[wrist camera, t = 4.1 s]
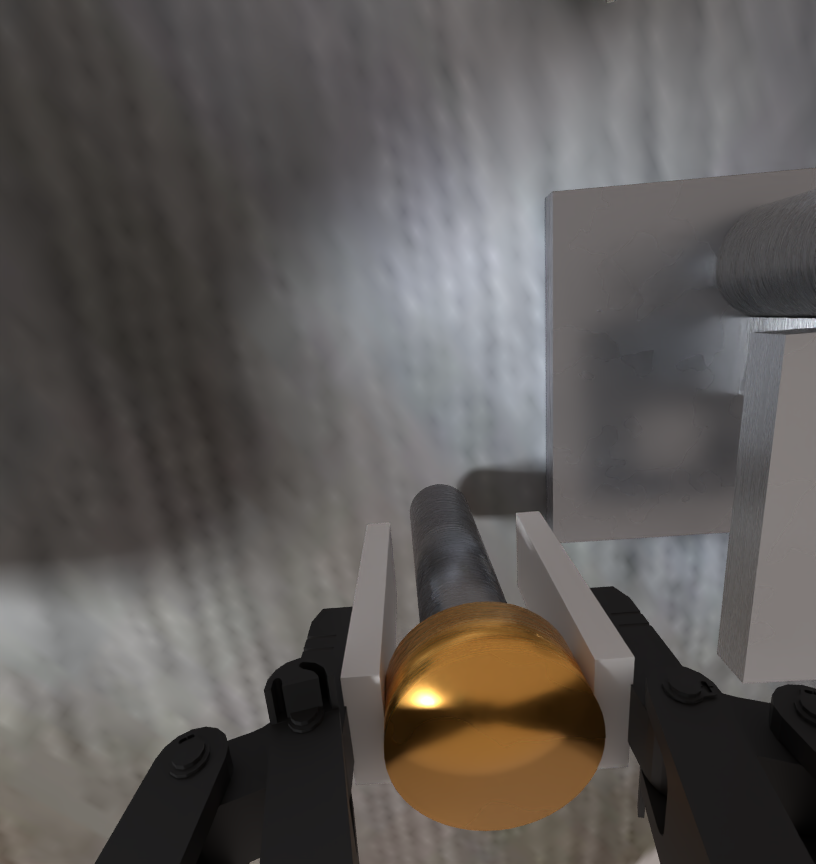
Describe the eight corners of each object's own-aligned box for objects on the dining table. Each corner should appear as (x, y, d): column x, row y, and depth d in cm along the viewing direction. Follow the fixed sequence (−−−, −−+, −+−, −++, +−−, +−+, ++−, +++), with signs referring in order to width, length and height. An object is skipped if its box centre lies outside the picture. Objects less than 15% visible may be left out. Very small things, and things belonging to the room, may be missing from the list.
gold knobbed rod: (392, 562, 19) (393, 840, 9) (383, 467, 18) (372, 664, 8) (492, 553, 19) (602, 820, 9) (488, 458, 18) (610, 643, 8)
